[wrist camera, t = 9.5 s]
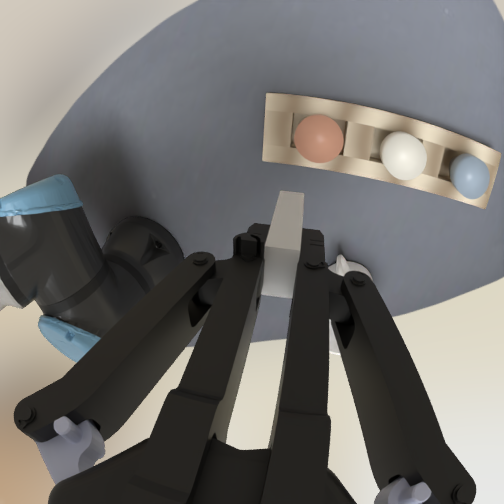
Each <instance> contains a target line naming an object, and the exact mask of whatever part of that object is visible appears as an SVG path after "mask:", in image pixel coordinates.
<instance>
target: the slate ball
mask: <svg viewBox="0 0 504 504" xmlns="http://www.w3.org/2000/svg"><path fill="white" fill-rule="evenodd" d="M449 171H450V179H451V182H452V184H453V186H454V187H455V188H456V189H457V190H458V191H459V192H460V193H461V194H462V195H463V196H464V197H466V198H468V199H477V198H479V197H481V196H482V195H483V194H484V193H485V191H486V190H487V188H488V185H489V180H490V174H489V170H488V167H487V166H486V164H485V163H484V162H483V161H482V160H480V159H479V158H477V157H475V156H474V155H472V154H468V153H465V154H461V155H459V156H455V157H453V158H452V159H451V161H450V163H449Z"/></svg>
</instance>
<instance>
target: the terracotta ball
mask: <svg viewBox="0 0 504 504" xmlns="http://www.w3.org/2000/svg"><path fill="white" fill-rule="evenodd" d="M294 142H295V146H296V148H297V150H298V152H299V153H300V154H301V155H302V156H303V157H304V158H305V159H307V160H309V161H311V162H315V163H326V162H329V161H331V160H333V159H334V158H336V157H337V156H338V155H339V153H340V152H341V150H342V147H343V142H344V139H343V134H342V131H341V129H340V127H339V126H338V124H337V123H336V122H335V121H334V120H333V119H332V118H330V117H328V116H326V115H322V114H314V115H310V116H307V117H306V118H304V119H303V120H302V121H301V122H300V123H299V125H298V127H297V129H296V131H295V135H294Z"/></svg>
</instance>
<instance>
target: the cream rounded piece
mask: <svg viewBox="0 0 504 504" xmlns="http://www.w3.org/2000/svg"><path fill="white" fill-rule="evenodd" d="M380 158H381V161H382V163H383V165H384V166H385V167H386V169H387V170H388V171H389V173H390V174H391V175H393V176H394V177H395V178H398V179H400V180H411V179H414V178H416V177H417V176H419V175H420V174H421V173H422V172H423V170H424V168H425V166H426V162H427V154H426V150H425V148H424V146H423V144H422V143H421V142H420V141H419V140H418V139H417V138H415V137H414V136H412V135H410V134H408V133H406V132H402V131H397V132H393V133H391V134H389V135H388V136H386V137H385V138H384V140H383V141H382V143H381V146H380Z"/></svg>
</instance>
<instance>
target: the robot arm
mask: <svg viewBox="0 0 504 504" xmlns="http://www.w3.org/2000/svg"><path fill="white" fill-rule="evenodd" d="M82 206H83V203H82V201H80V200H79V197H78V195H77V193H76V191H75V189H74V186H73V184H72V182H71V180H70V179H69V178H68V177H67V176H65V175H62V174H57V175H54V176H51V177H48V178H46V179H43V180H41V181H38V182H36V183H33V184H31V185H28V186H26V187H24V188H22V189H19V190H17V191H15V192H13V193H11V194H8V195H6V196H4V197H2V198H0V311H1V310H2V309H3V308H4V307H6V306H14V307H17V308H21V309H23V308H24V307H26V306H27V305H28V304H29V303H31V302H32V301H33V300H35V301H36V302H37V304H38V305H39V307H40V308H41V310H42V311H43V313H44V315H41V316H40V319H39V322H38V327H39V329H40V331H41V333H42V334H43V336H44V337H45V338H46V339H47V340H48V341H49V342H50V343H51V344H52V345H53V346H54V347H55V348H57V349H58V350H59V351H60V352H61V353H63V354H64V355H65V356H67V357H68V358H70V359H72V360H73V361H75V362H77V363H76V364H75V365H74V366H73V367H72V368H71V369H70V370H69V371H68V372H67V373H66V375H65V376H64V377H63V378H61V379H59V380H57V381H56V382H54V383H52V384H50V385H48V386H46V387H45V388H43V389H41V390H39V391H37V392H35V393H34V394H32V395H30V396H28V397H26V398H24V399H23V400H21V401H20V402H19V403H18V405H17V406H16V408H15V411H14V422H15V424H16V426H17V428H18V429H20V430H21V431H22V432H23V433H24V434H26V435H27V436H29V437H30V438H32V439H33V440H34V441H35V442H36V444H37V446H38V448H39V451H40V453H41V455H42V458H43V460H44V462H45V464H46V466H47V469H48V471H49V473H50V474H51V477H52V479H53V481H54V482H55V484H56V485H55V487H54V488H53V489H52V491H51V493H50V496H49V500H48V504H357V503H356V502H355V501H354V499H353V498H352V497H351V495H350V494H349V493H348V491H347V490H346V489H345V487H344V486H343V484H342V483H341V482H340V480H339V479H338V478H337V476H336V475H335V474H334V473H333V472H332V471H331V470H330V469H329V468H327V467H328V457H329V446H330V433H331V419H330V416H329V415H328V414H327V403H328V382H329V381H328V380H329V319H330V320H331V326H332V329H333V332H334V335H335V338H336V341H337V345H338V348H339V351H340V354H341V357H342V361H343V364H344V367H345V371H346V374H347V378H348V381H349V385H350V388H351V392H352V395H353V399H354V403H355V406H356V410H357V413H358V418H359V421H360V425H361V429H362V433H363V437H364V441H365V445H366V449H367V453H368V458H369V462H370V466H371V469H372V472H373V476H374V478H375V481H376V483H377V485H378V488H379V489H380V492H379V493H378V495H377V496H376V499H375V501H374V504H472V502H473V501H474V498H475V495H476V484H475V482H474V480H473V478H472V477H471V476H470V475H469V473H468V472H467V470H465V468H464V466H463V465H462V464H461V462H460V461H459V460H458V459H457V457H456V456H455V455H454V453H453V452H452V451H451V449H450V448H449V447H448V446H447V444H446V443H445V440H444V437H443V434H442V432H441V429H440V426H439V423H438V421H437V418H436V415H435V412H434V410H433V407H432V405H431V402H430V400H429V397H428V395H427V392H426V390H425V388H424V385H423V383H422V380H421V378H420V376H419V373H418V371H417V369H416V367H415V364H414V362H413V360H412V358H411V355H410V353H409V351H408V349H407V347H406V345H405V343H404V340H403V338H402V336H401V334H400V332H399V330H398V328H397V326H396V324H395V322H394V320H393V318H392V316H391V314H390V312H389V311H388V309H387V307H386V305H385V303H384V301H383V299H382V297H381V295H380V294H379V292H378V290H377V288H376V286H375V284H374V283H373V281H372V279H371V278H370V277H369V276H368V275H366V274H365V273H363V272H360V271H348V272H347V273H345V275H344V276H341V275H338V274H336V273H334V272H332V271H330V270H329V269H328V266H327V263H326V262H325V249H324V235H323V234H322V233H321V232H320V230H313V229H305V228H302V222H303V207H304V193H298V192H290V191H281V190H280V194H279V197H278V201H277V204H276V208H275V211H274V215H273V218H272V222H271V225H267V224H258V223H254V224H253V225H252V226H250V227H249V229H248V231H247V233H242V234H239V235H237V236H235V237H234V238H233V257H232V258H230V259H227V260H217V261H215V257H214V256H213V255H212V254H210V253H208V252H196V253H193V254H191V255H189V256H188V257H187V258H186V259H184V257H183V254H182V251H181V249H180V247H179V245H178V244H177V242H176V241H175V239H174V238H173V237H172V236H171V235H170V233H169V232H168V231H166V230H165V229H164V228H163V227H162V226H160V225H159V224H157V223H155V222H154V221H151V220H149V219H146V218H143V217H129V218H126V219H124V220H122V221H121V222H119V223H118V224H117V225H116V226H115V227H114V228H113V229H112V230H111V231H110V233H109V235H108V237H107V240H106V242H105V244H104V246H103V248H102V250H101V248H100V246H99V244H98V242H97V240H96V238H95V236H94V233H93V231H92V229H91V227H90V224H89V222H88V220H87V217H86V215H85V212H84V210H83V207H82ZM261 291H262V295H268V296H276V297H283V298H290V299H292V304H291V310H290V316H289V318H290V319H289V326H288V333H287V340H286V348H285V354H284V361H283V367H282V374H281V380H280V386H279V393H278V398H277V404H276V409H275V415H274V420H273V426H272V431H271V436H270V441H269V445H268V449H256V450H239V449H236V448H234V447H232V446H230V445H228V444H226V438H227V431H228V427H229V423H230V419H231V415H232V412H233V408H234V404H235V400H236V396H237V393H238V389H239V384H240V381H241V377H242V373H243V369H244V366H245V362H246V357H247V353H248V350H249V345H250V342H251V338H252V334H253V330H254V326H255V322H256V318H257V313H258V309H259V305H260V298H261ZM202 326H203V328H202V330H201V333H200V335H199V337H198V340H197V342H196V345H195V347H194V350H193V352H192V355H191V357H190V359H189V362H188V364H187V366H186V369H185V371H184V374H183V376H182V379H181V381H180V384H179V386H178V387H177V388H176V389H172V390H171V391H170V392H169V393H168V395H167V397H166V399H165V401H164V404H163V406H162V408H161V411H160V414H159V416H158V418H157V421H156V423H155V426H154V428H153V431H152V433H151V435H150V438H147V439H145V440H143V441H142V442H140V443H138V444H136V445H134V446H132V447H130V448H129V449H127V450H125V451H123V452H121V453H119V454H117V455H115V456H113V457H112V458H109V459H108V460H106V461H104V462H102V463H99V464H98V465H95V466H94V464H95V462H96V461H97V460H98V459H101V458H102V457H103V456H104V455H105V449H104V447H105V445H104V441H106V440H107V439H109V438H110V437H111V436H112V435H113V434H115V433H116V432H117V431H118V430H119V429H120V428H121V427H122V426H123V425H124V423H125V422H126V421H127V420H128V419H129V417H130V416H131V415H132V414H133V412H134V411H135V410H136V409H137V408H138V406H139V405H140V404H141V403H142V401H143V400H144V399H145V398H146V396H147V395H148V394H149V393H150V391H151V390H152V389H153V388H154V386H155V385H156V384H157V383H158V381H159V380H160V379H161V377H162V376H163V375H164V374H165V372H166V371H167V370H168V369H169V367H170V366H171V365H172V364H173V363H174V361H175V360H176V358H177V357H178V356H179V355H180V354H181V352H182V351H183V350H184V349H185V347H186V346H187V345H188V344H189V342H190V341H191V340H192V339H193V337H194V336H195V335H196V334H197V332H198V331H199V330H200V329H201V327H202Z"/></svg>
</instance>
